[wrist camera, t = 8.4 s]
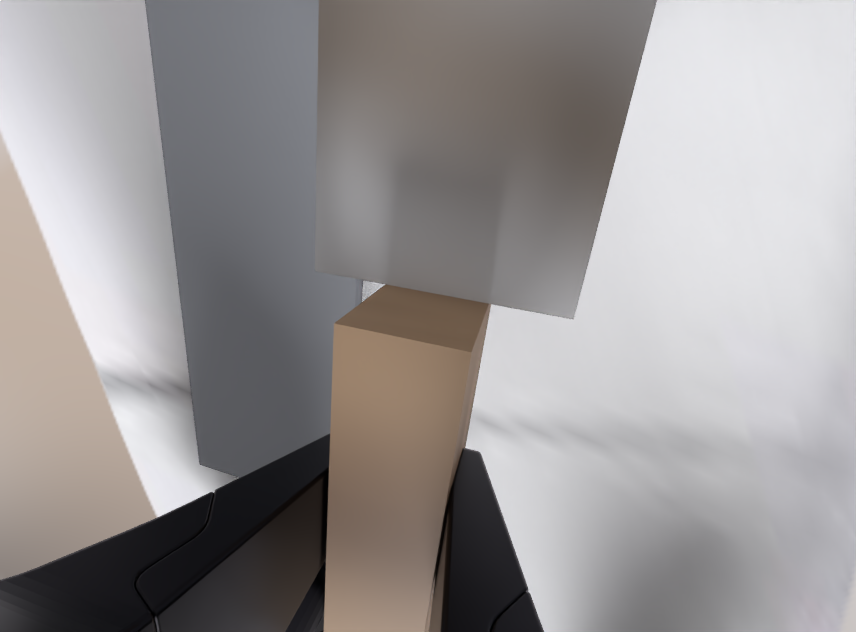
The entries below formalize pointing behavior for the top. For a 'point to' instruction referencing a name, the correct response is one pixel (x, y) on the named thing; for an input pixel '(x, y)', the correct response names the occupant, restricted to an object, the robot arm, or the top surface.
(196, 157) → the mat
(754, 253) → the top surface
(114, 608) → the robot arm
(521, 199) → the turner
